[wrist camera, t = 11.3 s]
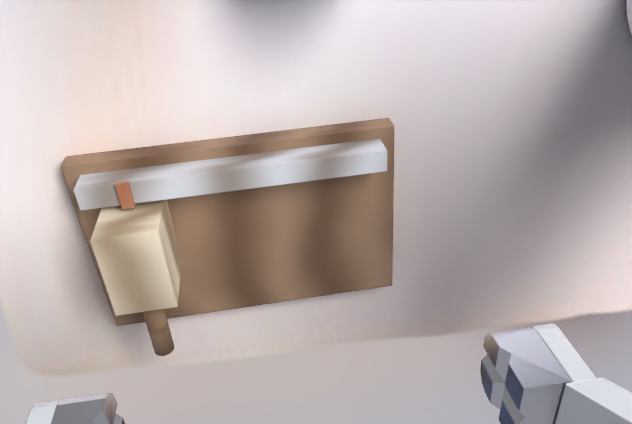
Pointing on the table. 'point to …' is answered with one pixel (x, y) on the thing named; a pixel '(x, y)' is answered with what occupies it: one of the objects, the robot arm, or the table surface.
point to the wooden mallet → (140, 264)
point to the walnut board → (257, 211)
